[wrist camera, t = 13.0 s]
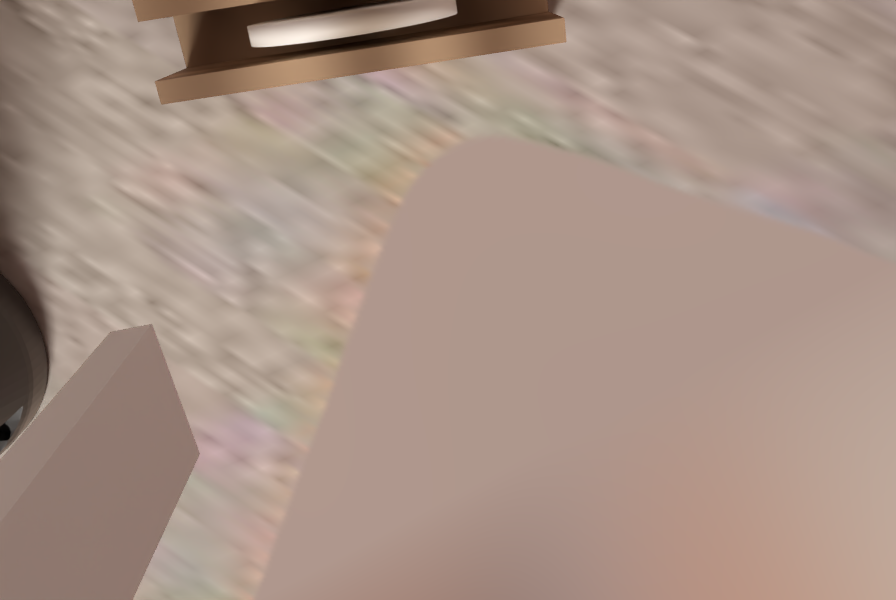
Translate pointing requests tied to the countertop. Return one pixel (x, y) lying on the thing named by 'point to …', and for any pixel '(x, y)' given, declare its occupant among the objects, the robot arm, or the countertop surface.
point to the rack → (334, 38)
